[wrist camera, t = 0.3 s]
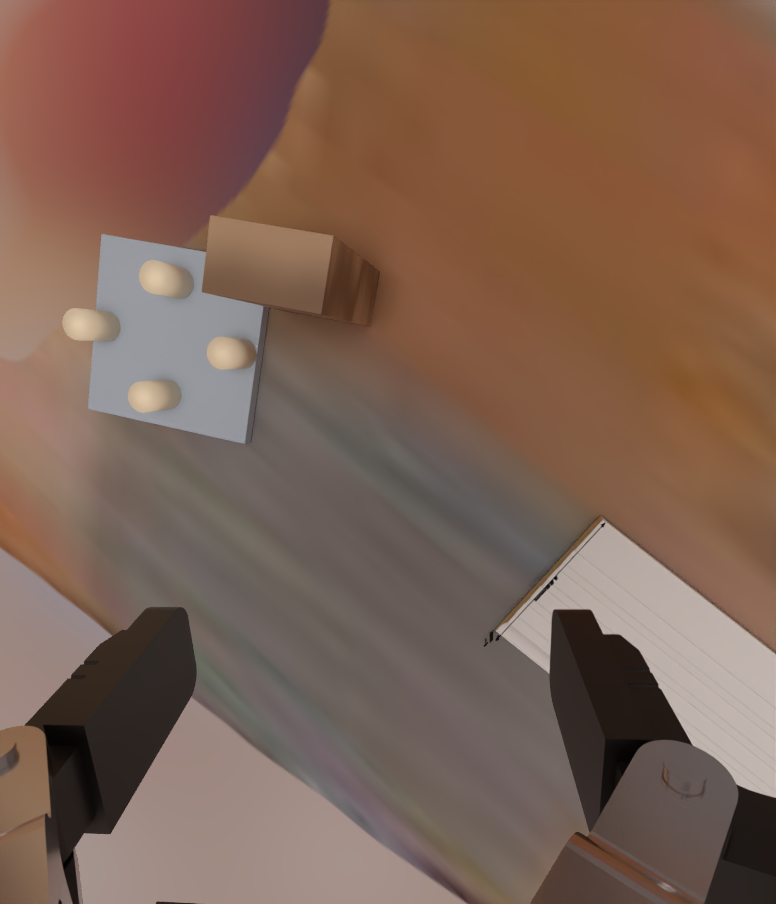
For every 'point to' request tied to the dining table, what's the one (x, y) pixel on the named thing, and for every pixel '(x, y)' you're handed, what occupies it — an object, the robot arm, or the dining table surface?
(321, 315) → the brown rectangular block
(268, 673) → the dining table surface
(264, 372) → the dining table surface
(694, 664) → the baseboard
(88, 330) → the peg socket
